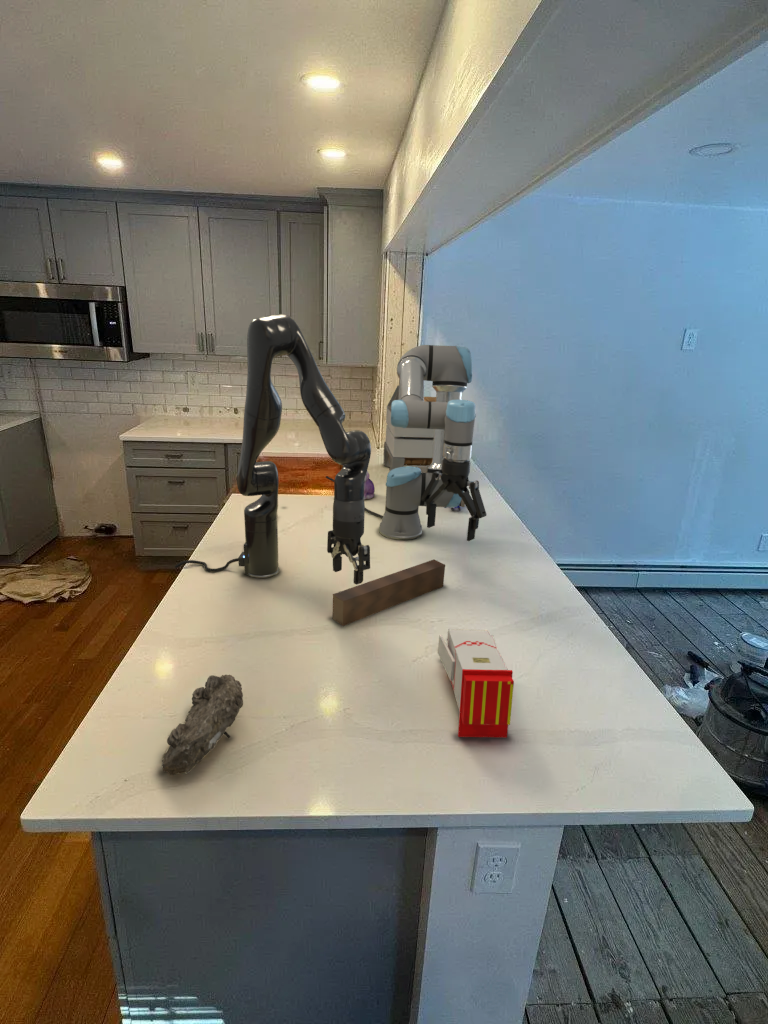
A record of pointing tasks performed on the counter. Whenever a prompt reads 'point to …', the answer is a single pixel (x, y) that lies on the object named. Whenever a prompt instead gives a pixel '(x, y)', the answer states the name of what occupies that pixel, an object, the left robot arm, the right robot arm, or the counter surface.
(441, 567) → the plank
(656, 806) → the counter surface
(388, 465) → the transformer
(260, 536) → the left robot arm
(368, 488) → the figurine
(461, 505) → the figurine character
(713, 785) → the counter surface
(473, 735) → the toy
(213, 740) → the fossil
